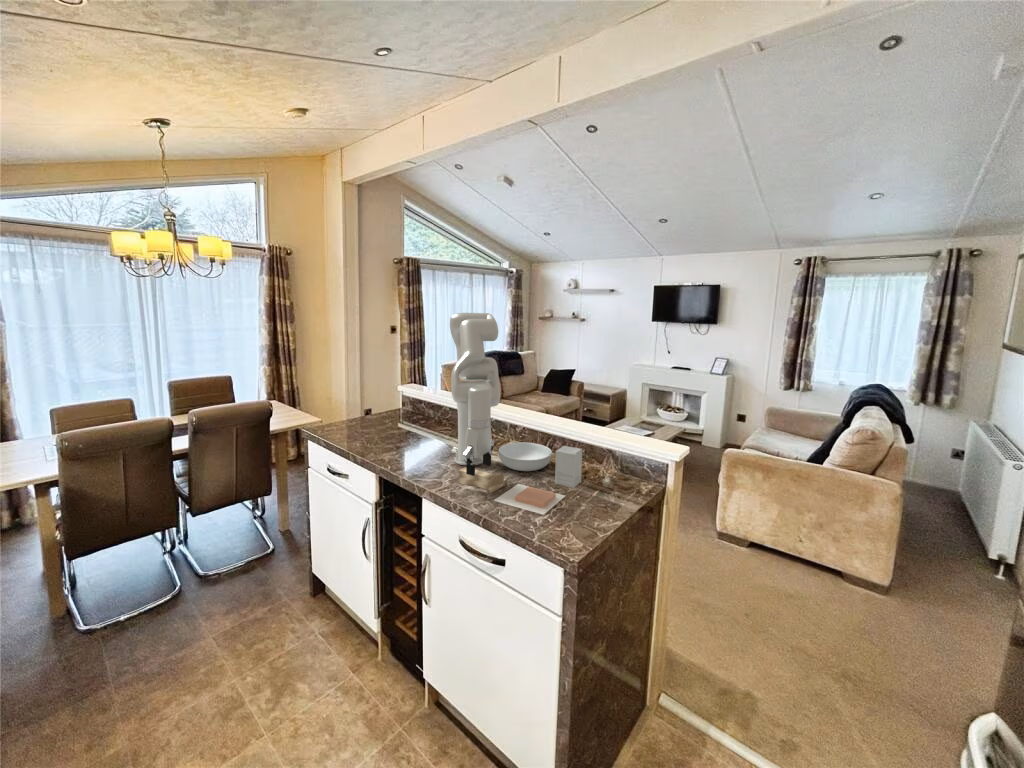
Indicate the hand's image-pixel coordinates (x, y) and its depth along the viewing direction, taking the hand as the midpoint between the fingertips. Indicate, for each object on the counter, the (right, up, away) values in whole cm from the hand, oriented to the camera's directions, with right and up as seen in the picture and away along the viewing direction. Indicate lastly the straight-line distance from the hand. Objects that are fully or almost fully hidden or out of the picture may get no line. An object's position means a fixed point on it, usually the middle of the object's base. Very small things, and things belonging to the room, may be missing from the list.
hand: (479, 469), depth 152 cm
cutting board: (+17, -8, -10) cm, 21 cm away
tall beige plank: (0, -6, 0) cm, 6 cm away
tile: (+15, -6, -9) cm, 18 cm away
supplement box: (+31, -6, +3) cm, 32 cm away
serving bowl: (+16, -3, +19) cm, 25 cm away
